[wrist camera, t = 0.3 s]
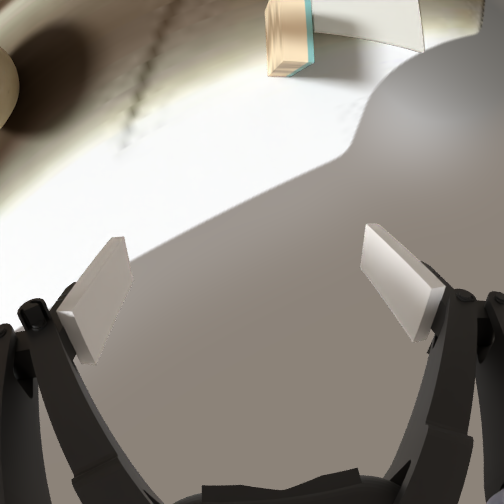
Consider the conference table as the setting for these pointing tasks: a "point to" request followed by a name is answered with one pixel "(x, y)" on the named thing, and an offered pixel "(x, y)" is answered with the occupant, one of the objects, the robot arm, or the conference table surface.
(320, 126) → the conference table surface
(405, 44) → the mat
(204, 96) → the conference table surface
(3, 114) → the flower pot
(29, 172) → the conference table surface
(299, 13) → the block
